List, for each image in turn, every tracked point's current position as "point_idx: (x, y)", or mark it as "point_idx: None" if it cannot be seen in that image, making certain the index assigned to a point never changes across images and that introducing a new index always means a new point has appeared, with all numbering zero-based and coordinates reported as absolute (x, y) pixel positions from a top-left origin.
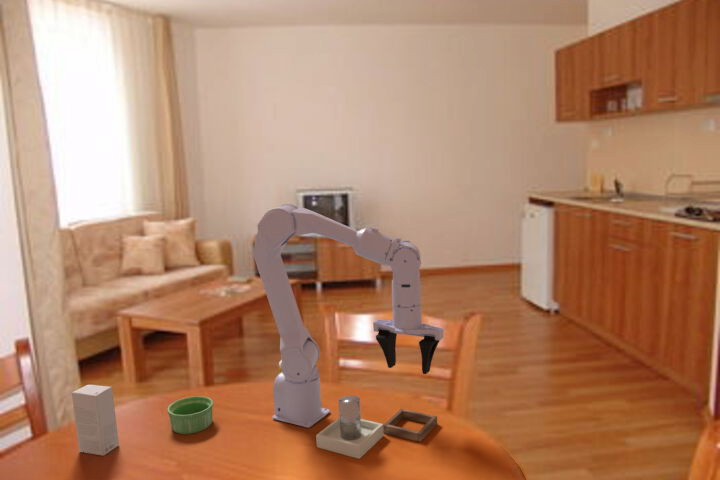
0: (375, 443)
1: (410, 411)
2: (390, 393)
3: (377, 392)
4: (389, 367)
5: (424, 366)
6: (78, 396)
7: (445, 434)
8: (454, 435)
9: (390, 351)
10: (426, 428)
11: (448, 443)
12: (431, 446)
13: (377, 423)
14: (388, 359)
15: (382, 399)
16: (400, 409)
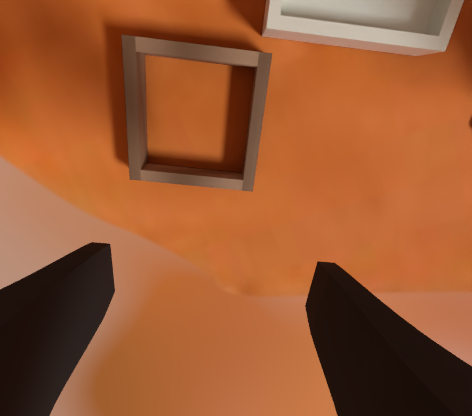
0: None
1: (218, 183)
2: None
3: None
4: (327, 263)
5: (58, 263)
6: None
7: (88, 119)
8: (62, 122)
9: (362, 360)
10: (125, 90)
11: (52, 65)
12: (89, 23)
13: (289, 24)
14: (351, 291)
15: (332, 254)
16: (252, 184)
